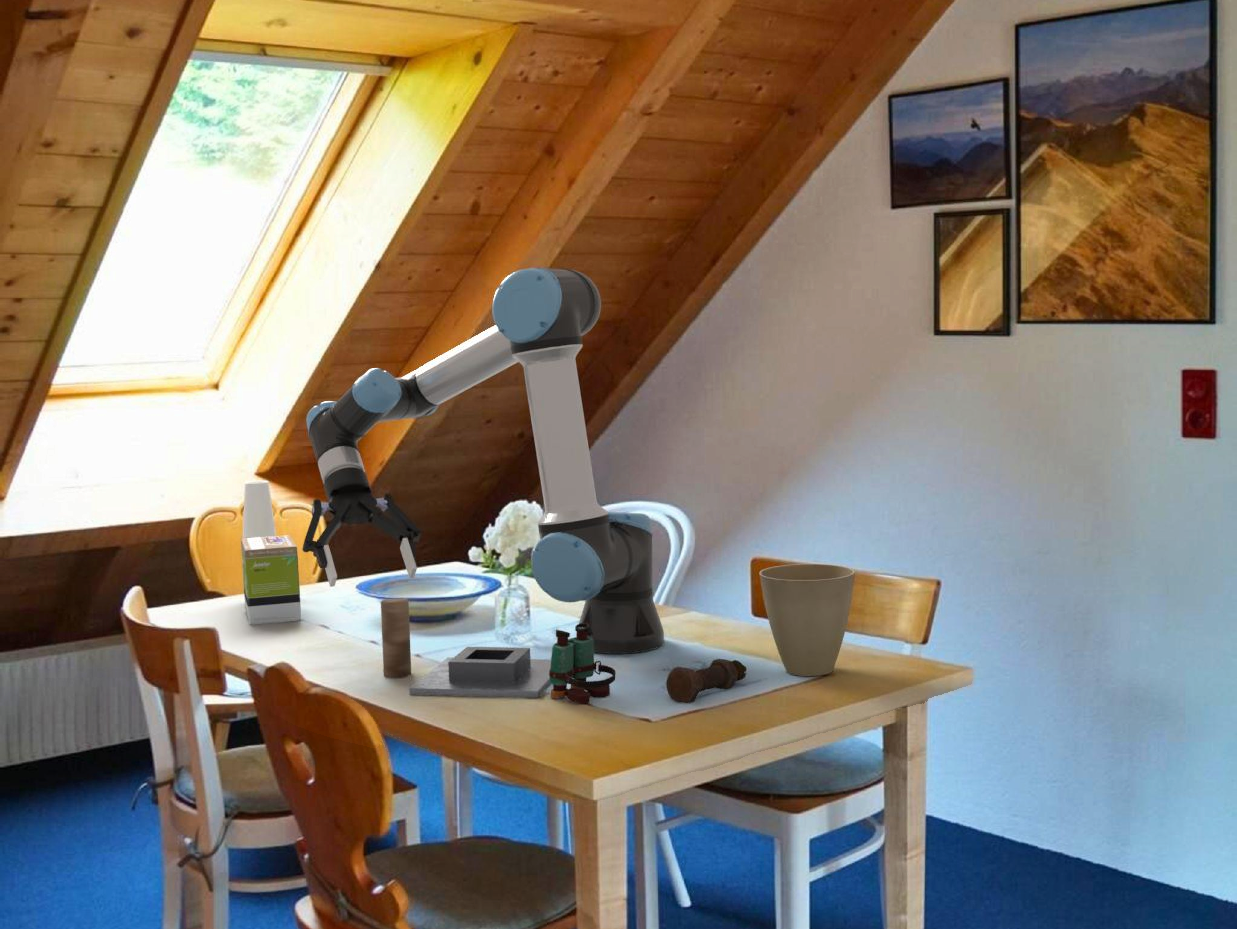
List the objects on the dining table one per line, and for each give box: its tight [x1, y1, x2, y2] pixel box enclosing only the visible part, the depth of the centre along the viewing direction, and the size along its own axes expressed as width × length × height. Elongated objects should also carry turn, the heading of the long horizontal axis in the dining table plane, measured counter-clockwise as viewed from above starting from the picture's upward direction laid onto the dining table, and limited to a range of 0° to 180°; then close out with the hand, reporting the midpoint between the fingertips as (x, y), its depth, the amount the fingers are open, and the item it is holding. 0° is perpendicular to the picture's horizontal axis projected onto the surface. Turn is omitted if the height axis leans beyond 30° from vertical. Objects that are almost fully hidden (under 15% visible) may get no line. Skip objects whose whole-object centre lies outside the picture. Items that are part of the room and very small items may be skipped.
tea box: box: [240, 534, 302, 626], centre depth 285 cm, size 15×10×15 cm
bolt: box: [665, 658, 748, 704], centre depth 222 cm, size 6×5×15 cm
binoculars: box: [549, 623, 616, 705], centre depth 220 cm, size 9×11×10 cm
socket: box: [408, 646, 552, 699], centre depth 232 cm, size 20×20×4 cm
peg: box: [380, 597, 412, 679], centre depth 236 cm, size 4×4×12 cm
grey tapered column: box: [242, 480, 277, 539], centre depth 304 cm, size 7×7×24 cm
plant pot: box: [759, 563, 856, 677], centre depth 232 cm, size 15×15×16 cm
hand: (374, 577), depth 244 cm, fingers open, 13 cm apart
